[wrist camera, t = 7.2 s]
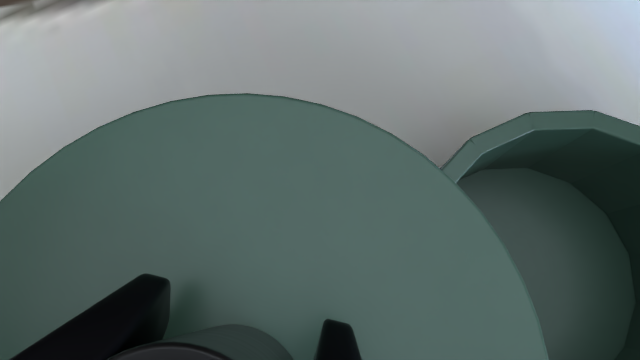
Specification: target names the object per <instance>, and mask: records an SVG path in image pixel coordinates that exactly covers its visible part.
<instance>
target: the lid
mask: <svg viewBox="0 0 640 360" xmlns="http://www.w3.org/2000/svg"><path fill="white" fill-rule="evenodd" d="M145 273H148V274H152V275H156V276H160V277H164V278H167V279H168V280H169V281H170V284H171V294H170V317H169V322H168V326H167V329H166V332H165V335H164V337H163V340H159V341H156V342H152V343H148V344H144V345H140V346H137V347H134V348H130V349H127V350H124V351H122V352H120V353H118V354H116V355H114V356H112V357H110V358H108V359H106V360H314V357H315V353H316V349H317V345H318V341H319V337H320V333H321V329H322V325H323V322H324V321H325V320H326V319H332V320H336V321H340V322H344V323H348V324H350V325H351V327H352V329H353V332H354V335H355V338H356V342H357V345H358V348H359V351H360V355H361V358H362V360H549V359H548V355H547V351H546V347H545V343H544V339H543V335H542V331H541V327H540V323H539V319H538V317H537V314H536V311H535V309H534V306H533V304H532V301H531V298H530V296H529V293H528V291H527V288H526V285H525V283H524V280H523V278H522V276H521V275H520V273H519V271H518V269H517V267H516V265H515V263H514V261H513V260H512V258H511V256H510V254H509V252H508V250H507V248H506V246H505V245H504V243H503V241H502V240H501V239H500V237H499V236H498V234H497V233H496V231H495V230H494V229H493V227H492V226H491V224H490V223H489V222H488V220H487V219H486V217H485V216H484V214H483V213H482V212H481V210H480V209H479V208H478V207H477V206H476V205H475V204H474V202H473V201H472V200H471V199H470V198H469V197H468V196H467V195H466V194H465V193H464V191H463V190H462V189H461V188H460V187H459V186H458V185H457V184H456V183H455V182H454V180H452V179H451V178H450V177H449V176H448V175H447V174H445V173H444V172H443V171H442V170H441V169H440V168H438V167H437V166H436V165H435V164H434V163H433V162H431V161H430V160H429V159H428V158H427V157H426V156H424V155H423V154H422V153H420V152H419V151H417V150H416V149H414V148H412V147H411V146H409V145H408V144H406V143H405V142H403V141H402V140H400V139H399V138H397V137H396V136H394V135H393V134H391V133H389V132H387V131H385V130H383V129H381V128H379V127H377V126H375V125H373V124H371V123H369V122H367V121H365V120H363V119H361V118H359V117H357V116H354V115H351V114H348V113H345V112H342V111H339V110H336V109H333V108H331V107H328V106H325V105H322V104H317V103H313V102H308V101H303V100H299V99H294V98H289V97H284V96H272V95H260V94H248V93H244V94H219V95H205V96H199V97H193V98H187V99H181V100H175V101H170V102H166V103H163V104H160V105H156V106H153V107H149V108H146V109H143V110H139V111H136V112H133V113H130V114H128V115H126V116H123V117H121V118H119V119H117V120H114V121H112V122H110V123H107V124H105V125H103V126H100V127H98V128H96V129H94V130H93V131H91V132H89V133H88V134H86V135H84V136H82V137H81V138H79V139H77V140H75V141H74V142H72V143H70V144H69V145H67V146H65V147H63V148H62V149H61V150H59V151H58V152H57V153H55V154H54V155H53V156H51V157H50V158H49V159H47V160H46V161H45V162H43V163H42V164H41V165H39V166H38V167H37V168H35V169H34V170H33V171H31V172H30V173H29V174H28V175H27V176H26V177H25V178H24V179H23V180H22V181H21V182H20V183H19V184H18V185H17V186H16V187H15V188H14V189H12V190H11V191H10V192H9V193H8V194H7V195H6V196H5V197H4V198H3V199H2V200H1V201H0V360H9V359H11V358H12V357H14V356H15V355H17V354H18V353H20V352H21V351H23V350H25V349H26V348H28V347H29V346H31V345H32V344H34V343H35V342H37V341H38V340H40V339H42V338H43V337H45V336H46V335H48V334H49V333H51V332H52V331H54V330H56V329H57V328H59V327H60V326H62V325H63V324H65V323H66V322H68V321H69V320H71V319H73V318H74V317H76V316H77V315H79V314H80V313H82V312H83V311H85V310H87V309H88V308H90V307H91V306H93V305H94V304H96V303H97V302H99V301H100V300H102V299H104V298H105V297H107V296H108V295H110V294H111V293H113V292H114V291H116V290H118V289H119V288H121V287H122V286H124V285H125V284H127V283H128V282H130V281H131V280H133V279H135V278H136V277H138V276H139V275H141V274H145Z"/></svg>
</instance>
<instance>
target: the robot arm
mask: <svg viewBox="0 0 640 360" xmlns="http://www.w3.org/2000/svg"><path fill="white" fill-rule="evenodd" d="M170 294H171V284H170V281H169V280H168V279H167V278H164V277H160V276H156V275H152V274H148V273H145V274H141V275H139V276H138V277H136V278H135V279H133V280H131V281H130V282H128V283H127V284H125V285H124V286H122V287H121V288H119V289H118V290H116V291H114V292H113V293H111V294H110V295H108V296H107V297H105V298H104V299H102V300H100V301H99V302H97V303H96V304H94V305H93V306H91V307H90V308H88V309H87V310H85V311H83V312H82V313H80V314H79V315H77V316H76V317H74V318H73V319H71V320H69V321H68V322H66V323H65V324H63V325H62V326H60V327H59V328H57V329H56V330H54V331H52V332H51V333H49V334H48V335H46V336H45V337H43V338H42V339H40V340H38V341H37V342H35V343H34V344H32V345H31V346H29V347H28V348H26V349H25V350H23V351H21V352H20V353H18V354H17V355H15V356H14V357H12V358H11V359H9V360H106V359H108V358H110V357H112V356H114V355H116V354H118V353H120V352H122V351H124V350H127V349H130V348H134V347H137V346H140V345H144V344H148V343H152V342H156V341H159V340H163V337H164V335H165V332H166V329H167V326H168V322H169V317H170ZM314 360H362V358H361V355H360V351H359V348H358V345H357V342H356V338H355V335H354V332H353V329H352V327H351V325H350V324H348V323H344V322H340V321H336V320H332V319H326V320H325V321H324V322H323V325H322V329H321V333H320V337H319V341H318V345H317V349H316V353H315V357H314Z"/></svg>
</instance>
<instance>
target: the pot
mask: <svg viewBox="0 0 640 360" xmlns="http://www.w3.org/2000/svg"><path fill="white" fill-rule="evenodd" d="M440 169H441V170H442V171H443V172H444V173H445V174H447V175H448V176H449V177H450V178H451V179H452V180H454V182H455V183H456V184H457V185H458V186H459V187H460V188H461V189H462V190H463V191H464V193H465V194H466V195H467V196H468V197H469V198H470V199H471V200H472V201H473V202H474V204H475V205H476V206H477V207H478V208H479V209H480V210H481V212H482V213H483V214H484V216H485V217H486V219H487V220H488V222H489V223H490V224H491V226H492V227H493V229H494V230H495V231H496V233H497V234H498V236H499V237H500V239H501V240H502V241H503V243H504V245H505V246H506V248H507V250H508V252H509V254H510V256H511V258H512V260H513V261H514V263H515V265H516V267H517V269H518V271H519V273H520V275H521V276H522V278H523V280H524V283H525V285H526V288H527V291H528V293H529V296H530V298H531V301H532V304H533V306H534V309H535V311H536V314H537V317H538V319H539V323H540V327H541V331H542V335H543V339H544V343H545V347H546V351H547V355H548V359H549V360H640V126H638V125H635V124H632V123H629V122H626V121H623V120H620V119H617V118H615V117H612V116H609V115H606V114H603V113H600V112H597V111H593V110H581V111H551V112H529V113H525V114H523V115H520V116H518V117H516V118H514V119H512V120H509V121H507V122H505V123H503V124H501V125H498V126H496V127H494V128H492V129H489V130H487V131H485V132H483V133H481V134H478V135H476V136H474V137H472V138H470V139H469V140H467V141H466V142H465V144H464V145H463V146H462V147H461V148H460V149H459V150H458V151H457V152H456V153H455V154H454V155H453V156H452V157H451V158H450V159H449V160H448V161H447V162H446V163H445V164H444V165H443V166H442V167H441V168H440Z"/></svg>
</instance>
